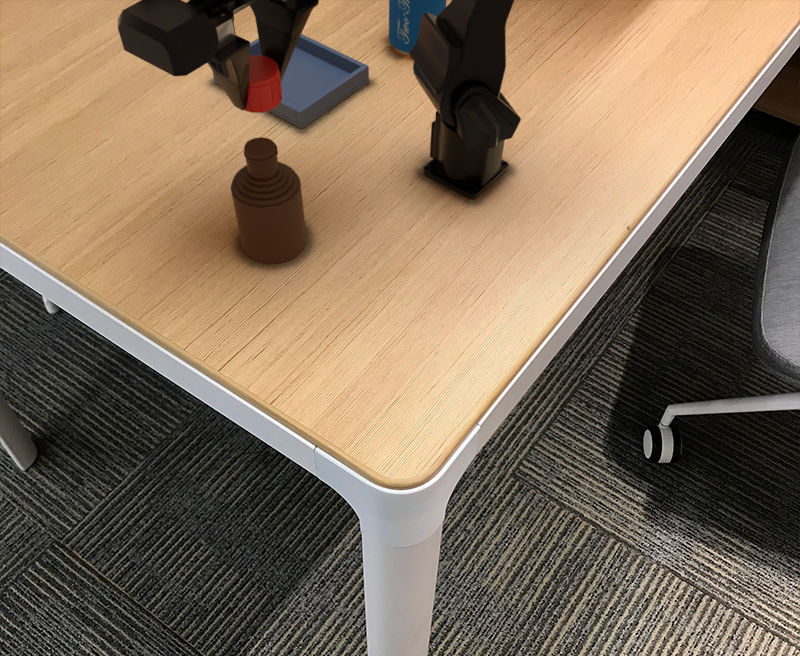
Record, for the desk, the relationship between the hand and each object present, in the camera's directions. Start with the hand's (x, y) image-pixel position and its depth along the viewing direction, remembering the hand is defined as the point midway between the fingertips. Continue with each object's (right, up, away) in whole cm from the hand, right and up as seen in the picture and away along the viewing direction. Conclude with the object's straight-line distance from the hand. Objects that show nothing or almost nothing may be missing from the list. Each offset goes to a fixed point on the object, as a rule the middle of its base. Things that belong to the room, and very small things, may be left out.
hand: (257, 96), depth 63 cm
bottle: (0, -10, +8) cm, 13 cm away
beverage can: (+14, +17, +28) cm, 35 cm away
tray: (0, +11, +23) cm, 25 cm away
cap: (0, +1, -2) cm, 2 cm away
